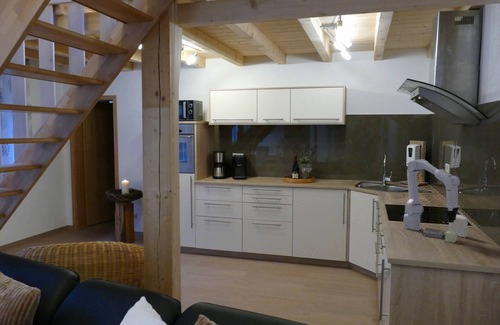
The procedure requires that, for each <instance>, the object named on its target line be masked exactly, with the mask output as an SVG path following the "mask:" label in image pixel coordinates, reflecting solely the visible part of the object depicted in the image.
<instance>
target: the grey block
mask: <svg viewBox="0 0 500 325" xmlns="http://www.w3.org/2000/svg"><path fill="white" fill-rule="evenodd" d="M444 236H445V230H444V229H437V228H433V227H432V228H430V227H425V229H423V231H422V237H426V238H427V237H428V238H434V239H443V237H444Z"/></svg>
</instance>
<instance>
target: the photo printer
mask: <svg viewBox="0 0 500 325" xmlns="http://www.w3.org/2000/svg"><path fill="white" fill-rule="evenodd" d="M468 222H469V221H468V218H467V217H465V216H464V215H461V214H457V215H456V219H455V220H454V222H453V223H449V222H448V231H453V232H457V236H456V237H461V238H467V236H468V225H469V224H468Z"/></svg>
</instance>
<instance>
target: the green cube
mask: <svg viewBox="0 0 500 325" xmlns="http://www.w3.org/2000/svg"><path fill="white" fill-rule="evenodd" d="M444 236H445V237H444V241H445V242H448V243H452V244H453V243H454V244H455V243H456V242H457V237H458V236H457V232H453V231H449V230H446V231H445V233H444Z"/></svg>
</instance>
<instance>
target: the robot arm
mask: <svg viewBox="0 0 500 325" xmlns="http://www.w3.org/2000/svg"><path fill="white" fill-rule="evenodd" d="M423 170H425V171H428V172H429V173H431V174H433V175H434V176H435V178H436V179H437V180H438V181H441V182H442V183H443V184H444V186H445V189H446V190H445V192H446V194H445V195H446V197H445V199H446V203H445V204H446V205H445V206H446V208H447V209H445V210H444V211H445V213H446V215H447V220H448V224H449V223H453V222H454V220H455V219H456V215H458V211H459V209H460V207H461V205H460V204H458V203H459V200H458V198H459V197H458V196H459V195H458V194H459V192H458V191H459V188H458V187H459V185H460V183H461V180H460V177H458V175H452V173H449V172H447V171H446V170H445V169H443V168H442V169H438V168H436V167H435V166H434V165H432V164H431V163H429V161H428V160H425V159H424V158H421V159H411V160H410V161H408V162H407V170H406V176H407V189H408V200H407V202H406V203H405V212H406V213H404V215H403V225H402V228H403V229H405V230H413V231H418V232H419V231H420V230H421V229H422V226H421V215H422V214H423V212H424V207H423V203H422V201H421V200H420V198H419V190H418V189H419V188H418V177H417V176H418V174H419V173H420V172H421V171H423Z"/></svg>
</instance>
